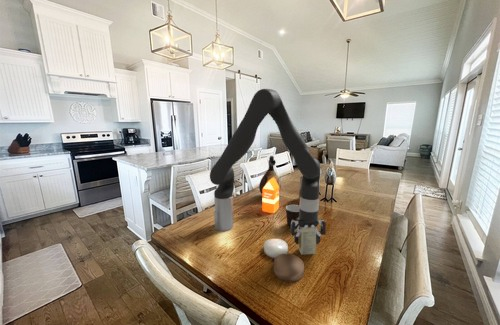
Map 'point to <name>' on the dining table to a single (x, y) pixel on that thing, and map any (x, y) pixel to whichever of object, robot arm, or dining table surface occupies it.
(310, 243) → the skincare box
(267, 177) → the ceramic jug
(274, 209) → the orange juice
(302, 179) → the coffee box
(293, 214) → the coffee mug
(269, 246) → the white rounded piece
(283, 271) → the pinkish brown pedestal
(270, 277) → the dining table surface
